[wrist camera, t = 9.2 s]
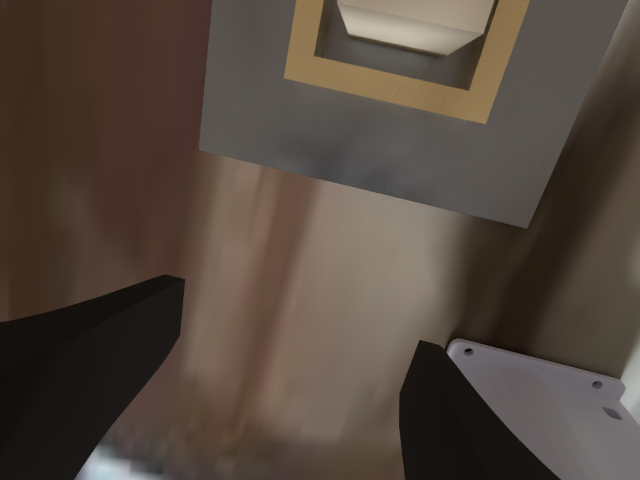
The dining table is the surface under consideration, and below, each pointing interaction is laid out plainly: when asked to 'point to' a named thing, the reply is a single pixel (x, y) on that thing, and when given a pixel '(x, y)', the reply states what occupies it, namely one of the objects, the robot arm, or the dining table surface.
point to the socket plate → (405, 100)
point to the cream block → (417, 23)
